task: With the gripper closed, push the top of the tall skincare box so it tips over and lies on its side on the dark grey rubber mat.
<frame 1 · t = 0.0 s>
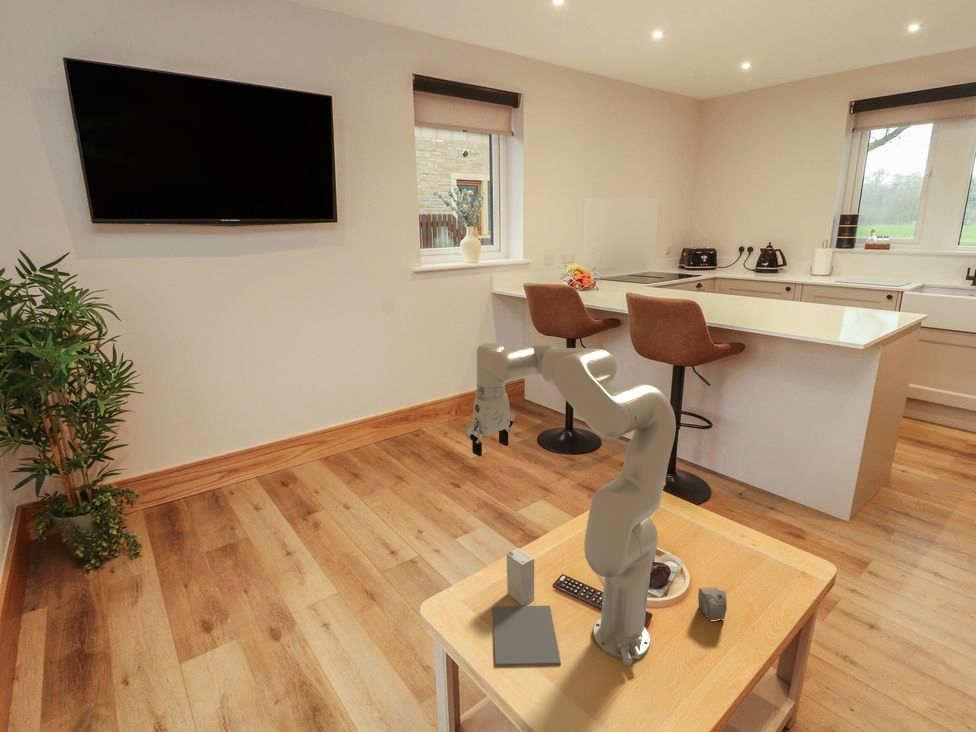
hand: (490, 449, 143), 31 cm above the table, tool pointing down, fingers open, 9 cm apart
skincare box: (519, 597, 133), on the table
mat: (524, 634, 120), on the table
mineral specimen: (712, 617, 126), on the table
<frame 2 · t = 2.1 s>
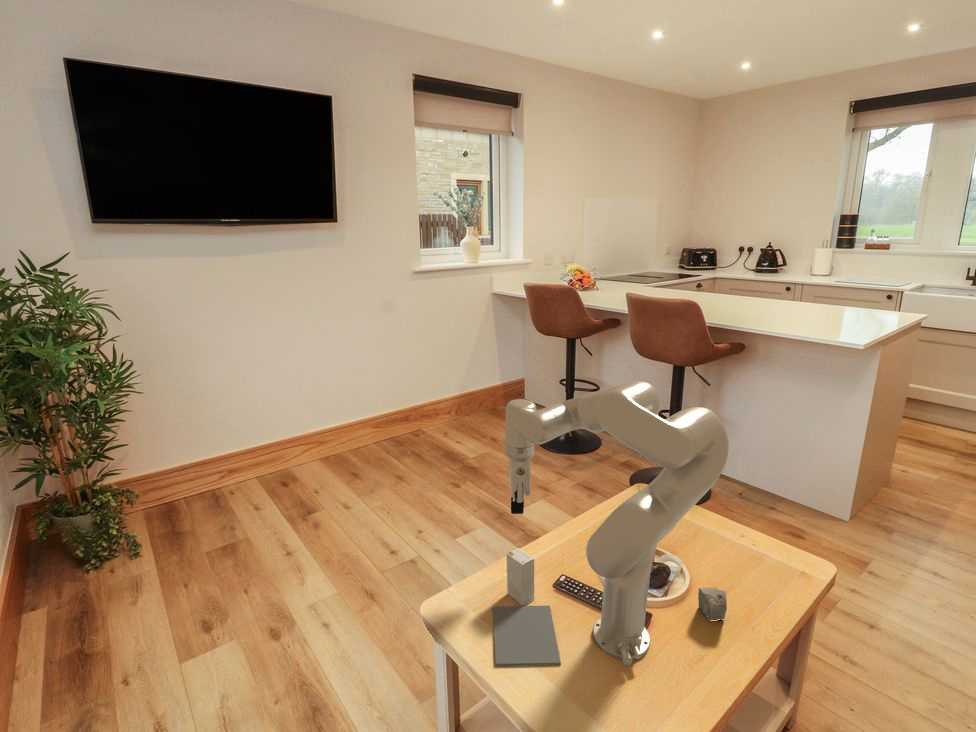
hand: (517, 512, 136), 18 cm above the table, tool pointing down, fingers closed
nothing on the table moved.
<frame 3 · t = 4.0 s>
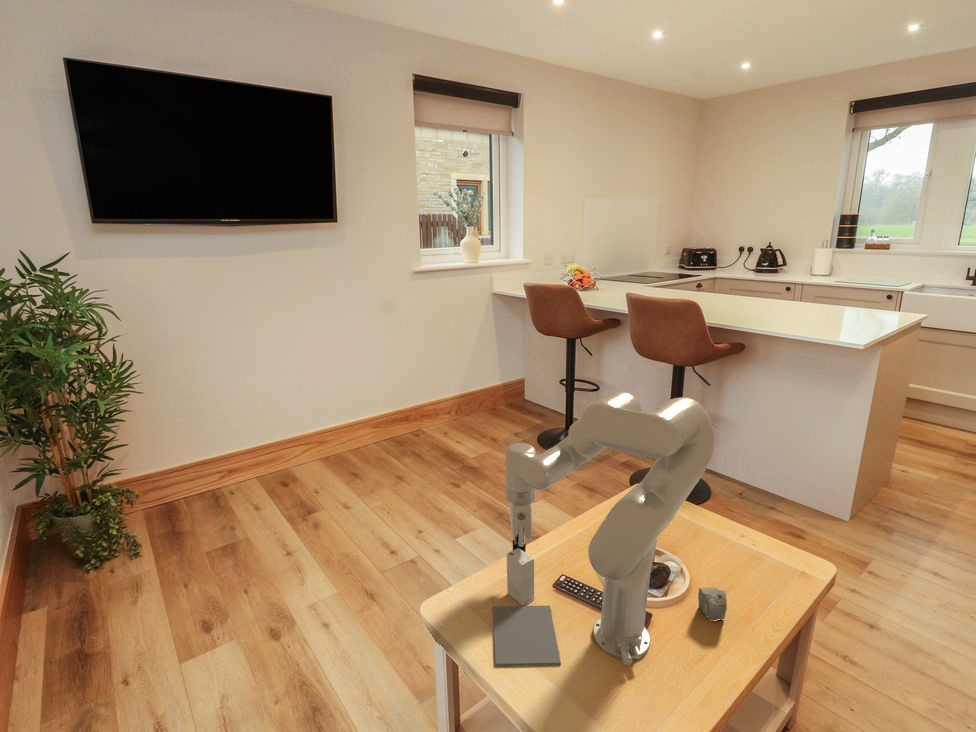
hand: (518, 554, 136), 8 cm above the table, tool pointing down, fingers closed
skincare box: (519, 597, 133), on the table, touching gripper
everything else where it was.
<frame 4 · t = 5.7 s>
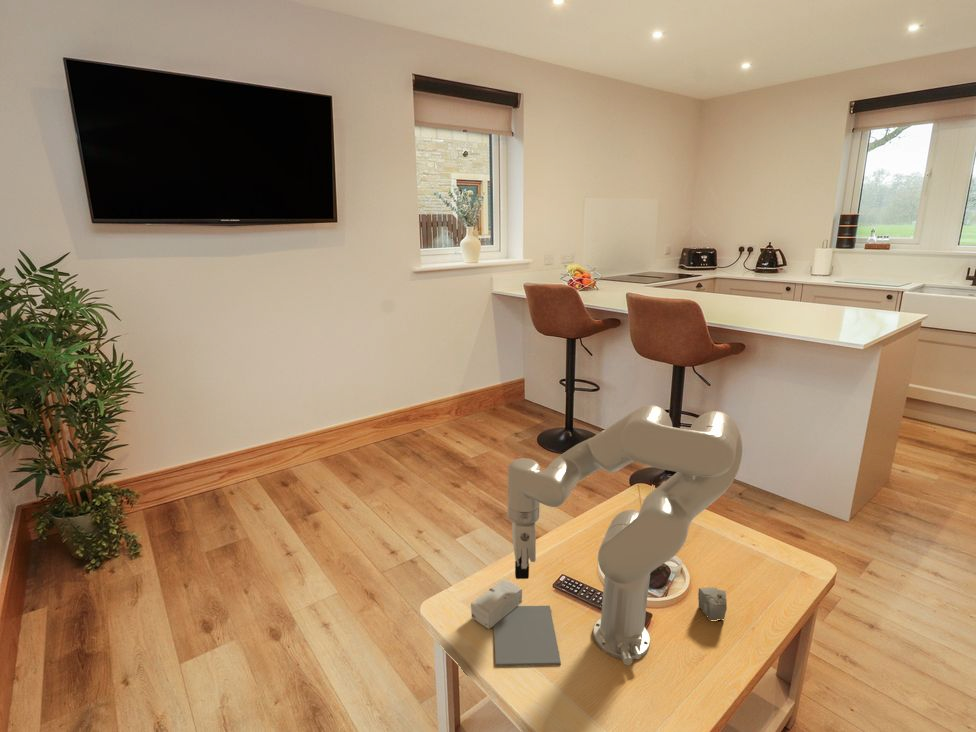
hand: (521, 576, 128), 8 cm above the table, tool pointing down, fingers closed
skincare box: (513, 589, 131), point 3 cm above the table, touching mat
everything else where it was.
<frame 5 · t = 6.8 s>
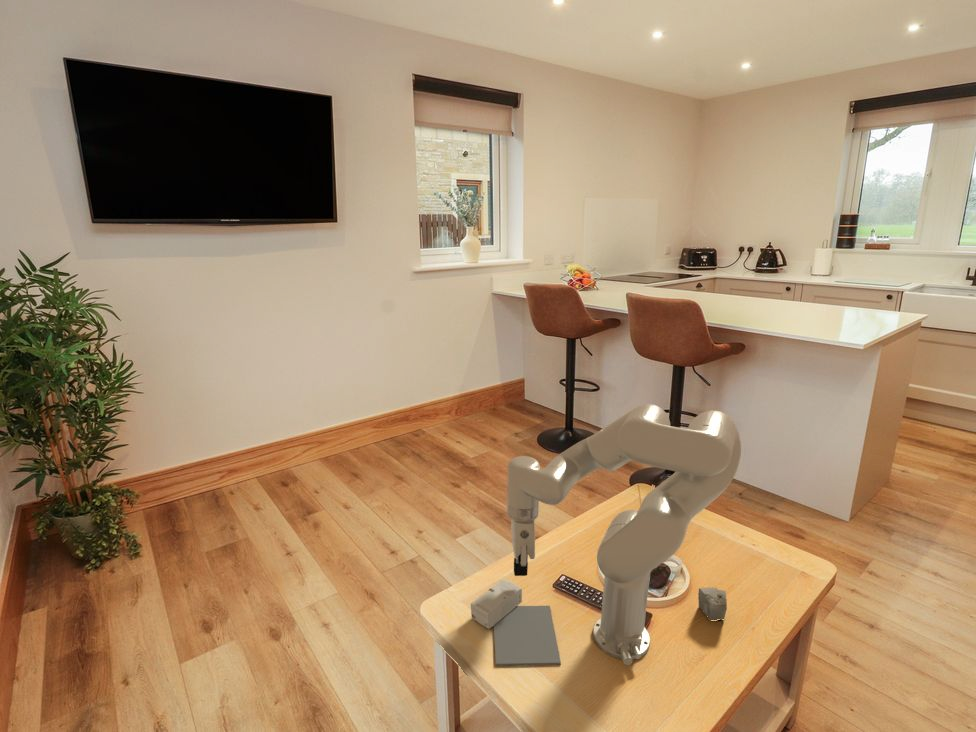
hand: (520, 573, 129), 8 cm above the table, tool pointing down, fingers closed
nothing on the table moved.
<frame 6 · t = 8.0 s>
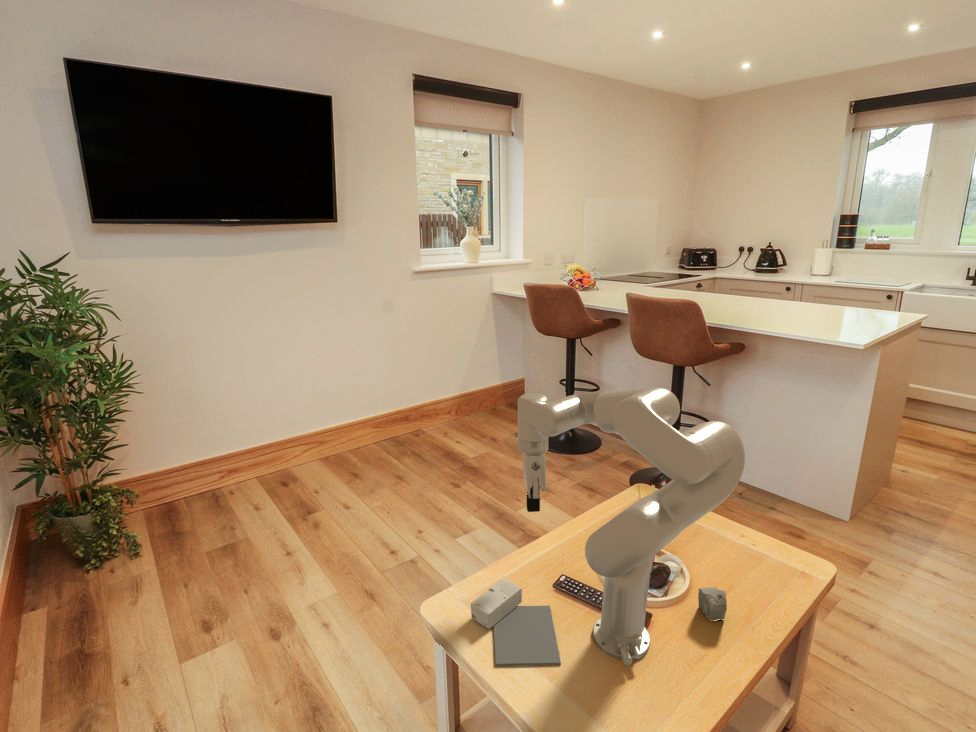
hand: (533, 509, 133), 21 cm above the table, tool pointing down, fingers closed
nothing on the table moved.
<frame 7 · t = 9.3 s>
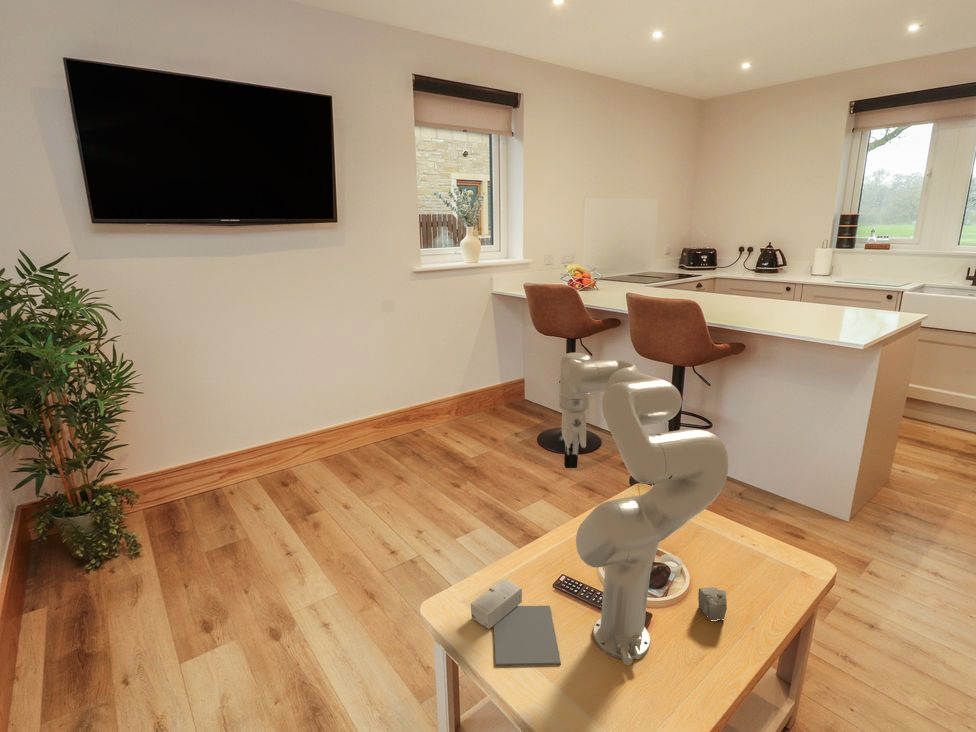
hand: (570, 466, 138), 29 cm above the table, tool pointing down, fingers closed
nothing on the table moved.
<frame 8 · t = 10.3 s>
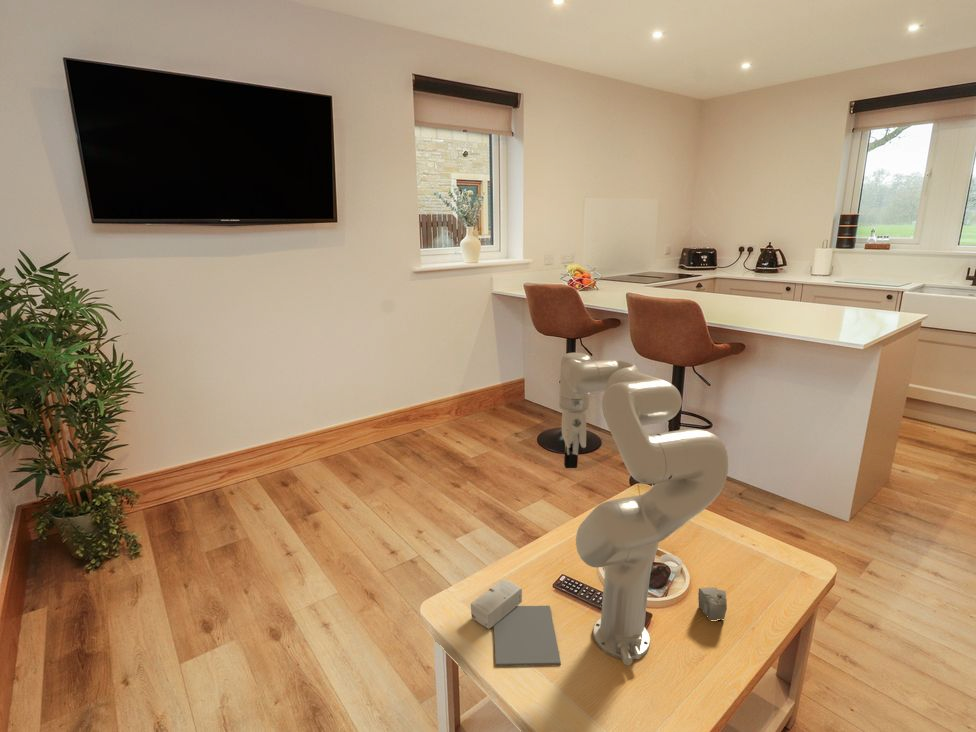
hand: (570, 466, 138), 29 cm above the table, tool pointing down, fingers closed
nothing on the table moved.
at the end: skincare box tilted 90°; skincare box touching mat; skincare box inside the target area on the mat (10.1 cm from its centre), point 2.7 cm above the mat's base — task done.
